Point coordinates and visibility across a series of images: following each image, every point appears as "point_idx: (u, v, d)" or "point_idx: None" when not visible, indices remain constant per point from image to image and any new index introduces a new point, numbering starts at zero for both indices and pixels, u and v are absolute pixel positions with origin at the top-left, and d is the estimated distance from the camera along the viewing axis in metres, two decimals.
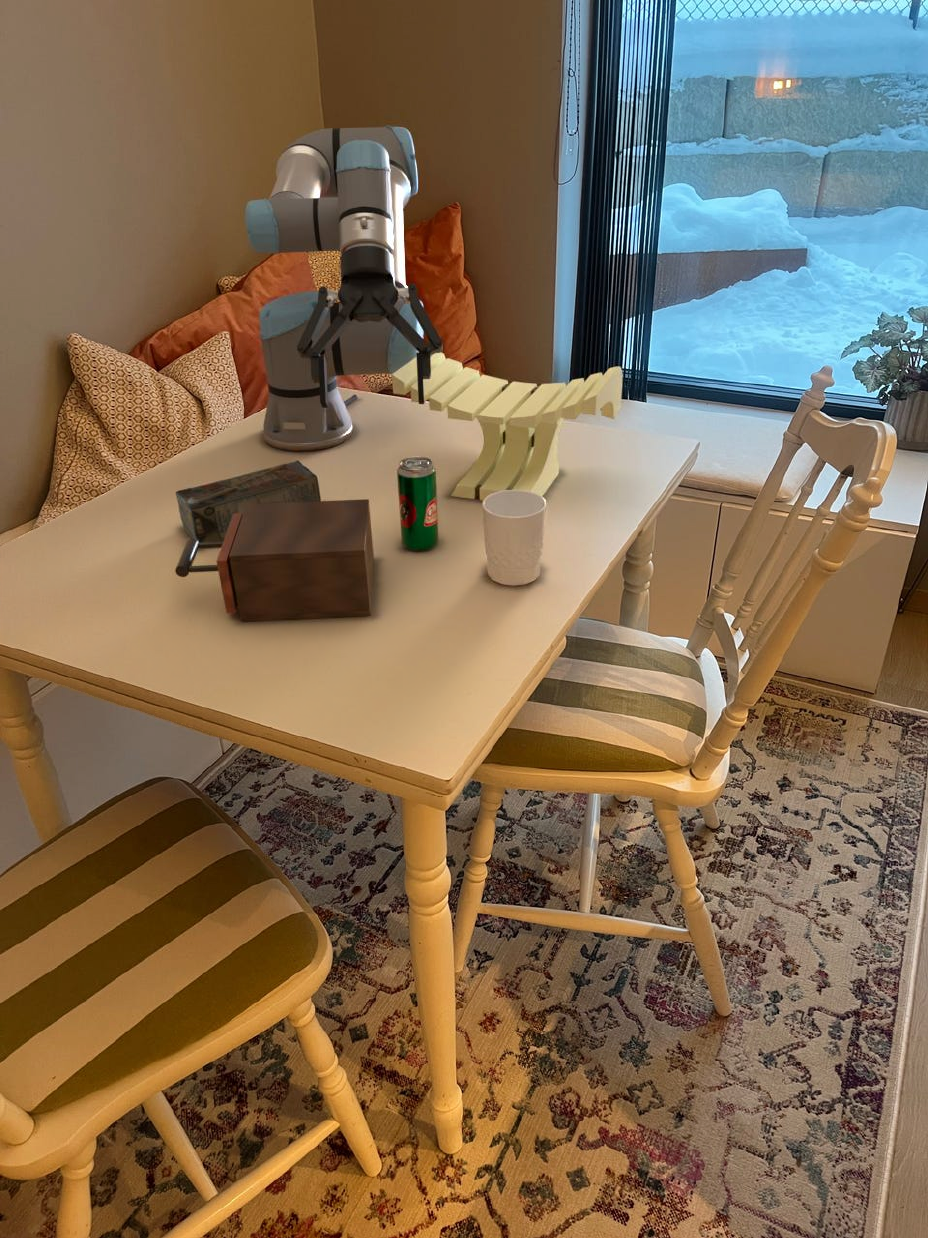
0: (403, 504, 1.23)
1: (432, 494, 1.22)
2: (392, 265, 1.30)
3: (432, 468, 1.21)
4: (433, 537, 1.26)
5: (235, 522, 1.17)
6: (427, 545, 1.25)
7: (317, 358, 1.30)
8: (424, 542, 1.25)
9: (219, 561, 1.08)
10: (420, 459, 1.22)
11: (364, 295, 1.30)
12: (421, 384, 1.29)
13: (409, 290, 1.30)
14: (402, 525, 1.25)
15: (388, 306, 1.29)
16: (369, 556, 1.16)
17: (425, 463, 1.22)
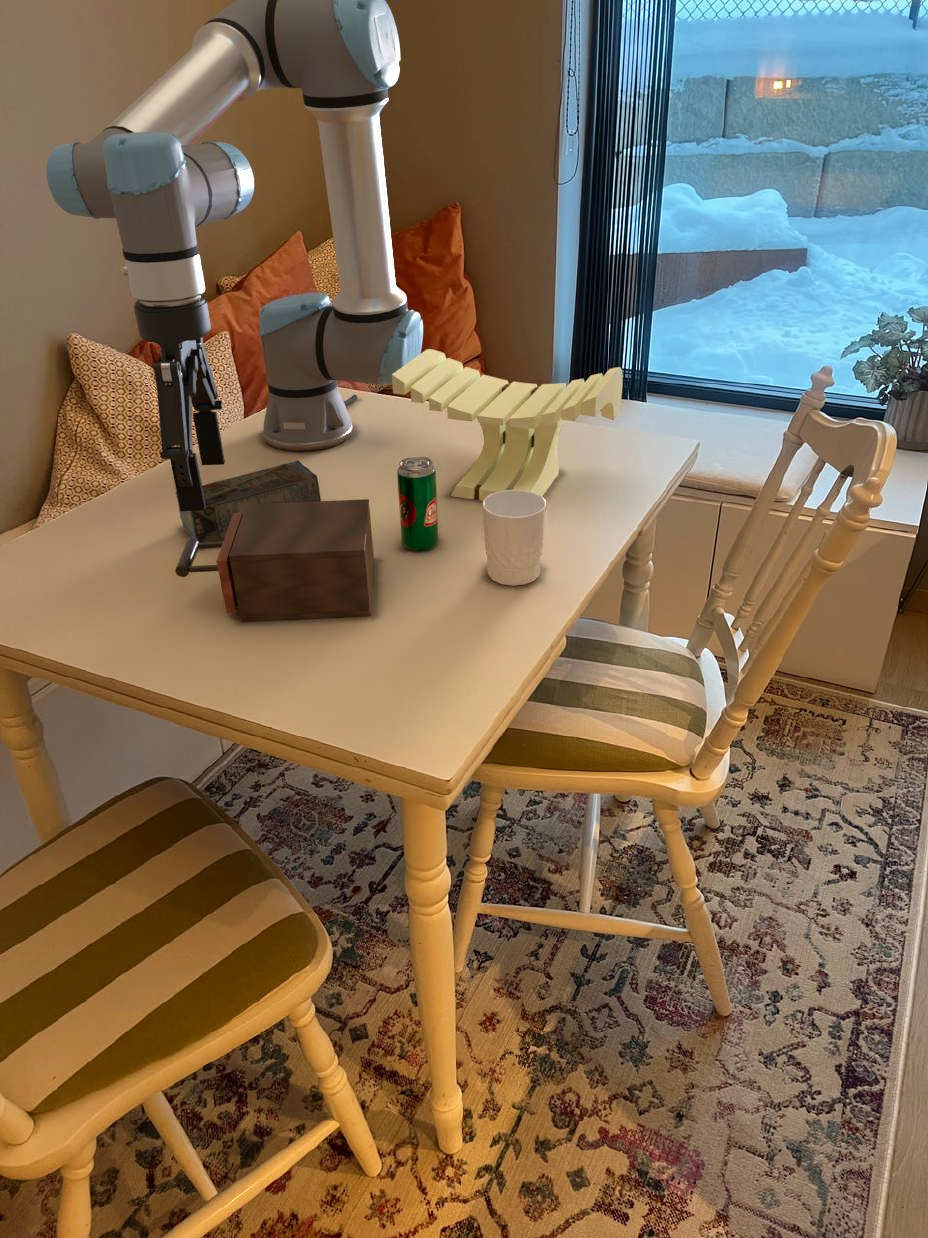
0: (403, 504, 1.23)
1: (432, 494, 1.22)
2: (156, 327, 0.96)
3: (432, 468, 1.21)
4: (433, 537, 1.26)
5: (235, 522, 1.17)
6: (427, 545, 1.25)
7: (199, 412, 1.12)
8: (424, 542, 1.25)
9: (219, 561, 1.08)
10: (420, 459, 1.22)
11: None
12: None
13: None
14: (402, 525, 1.25)
15: None
16: (369, 556, 1.16)
17: (425, 463, 1.22)
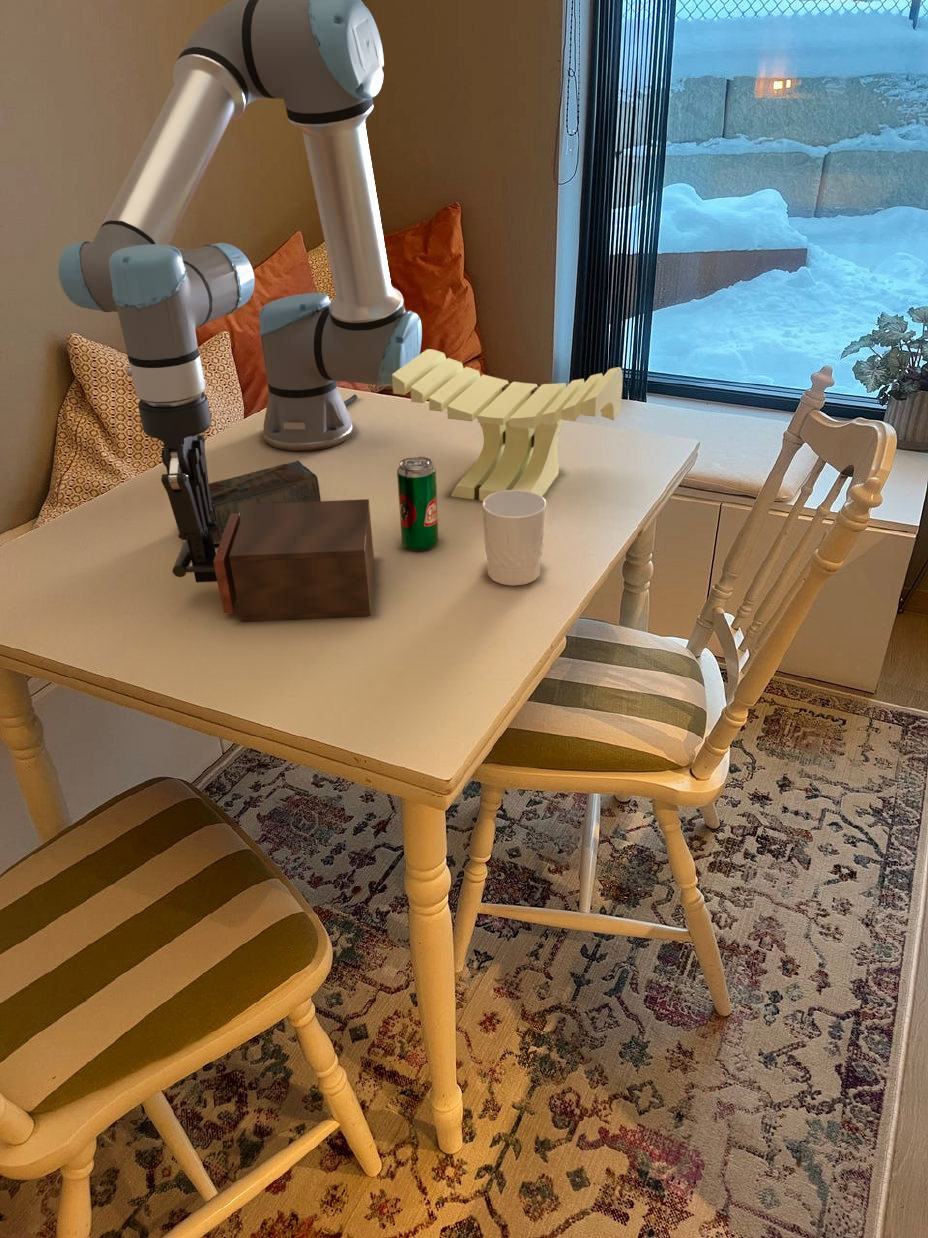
0: (403, 504, 1.23)
1: (432, 494, 1.22)
2: (159, 425, 1.02)
3: (432, 468, 1.21)
4: (433, 537, 1.26)
5: (233, 522, 1.17)
6: (427, 545, 1.25)
7: None
8: (424, 542, 1.25)
9: (216, 561, 1.08)
10: (420, 459, 1.22)
11: None
12: None
13: None
14: (402, 525, 1.25)
15: None
16: (369, 556, 1.16)
17: (425, 463, 1.22)
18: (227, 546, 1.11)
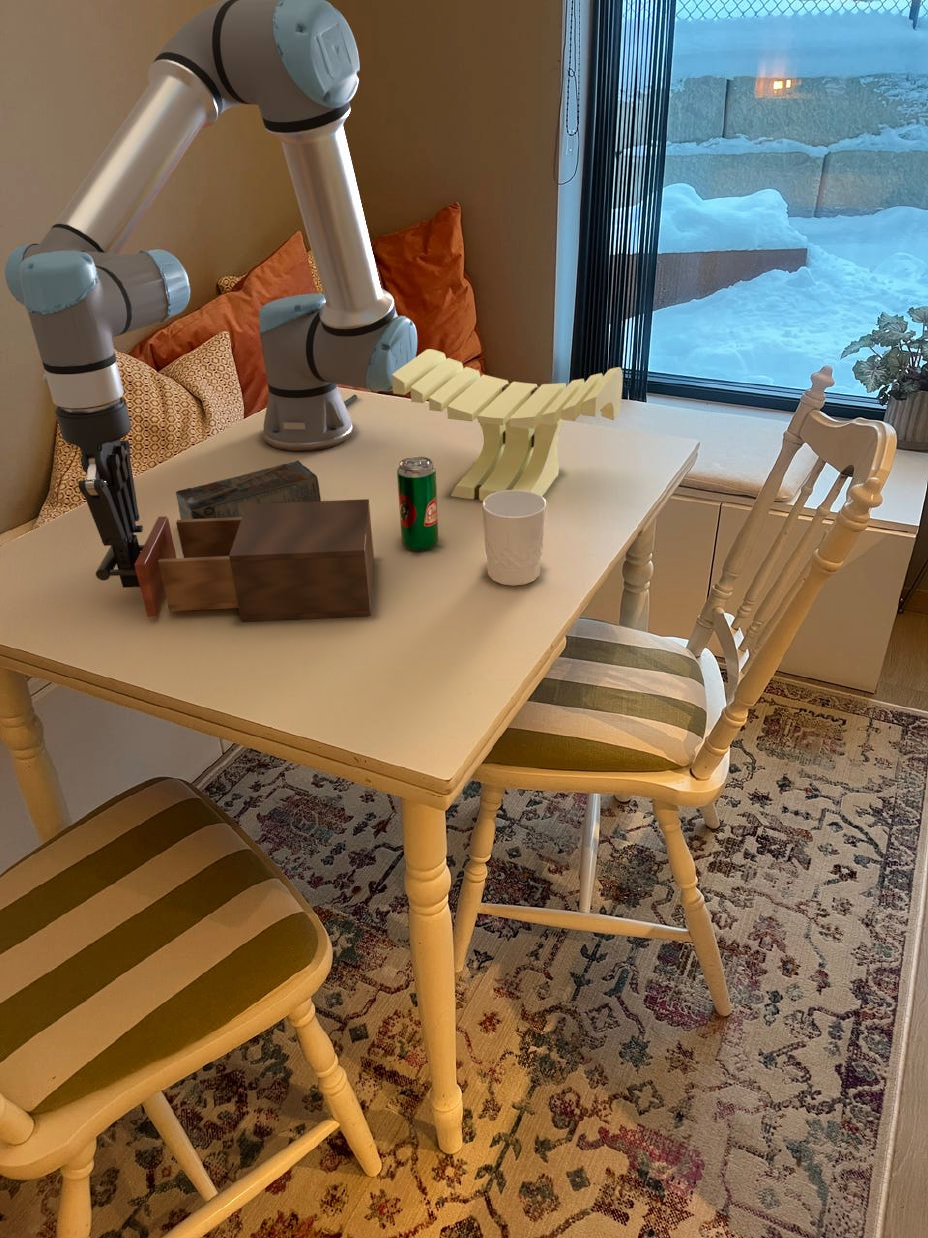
0: (403, 504, 1.23)
1: (432, 494, 1.22)
2: (75, 431, 1.02)
3: (432, 468, 1.21)
4: (433, 537, 1.26)
5: (159, 525, 1.16)
6: (427, 545, 1.25)
7: None
8: (424, 542, 1.25)
9: (137, 565, 1.08)
10: (420, 459, 1.22)
11: None
12: None
13: None
14: (402, 525, 1.25)
15: None
16: (369, 556, 1.16)
17: (425, 463, 1.22)
18: (150, 549, 1.11)
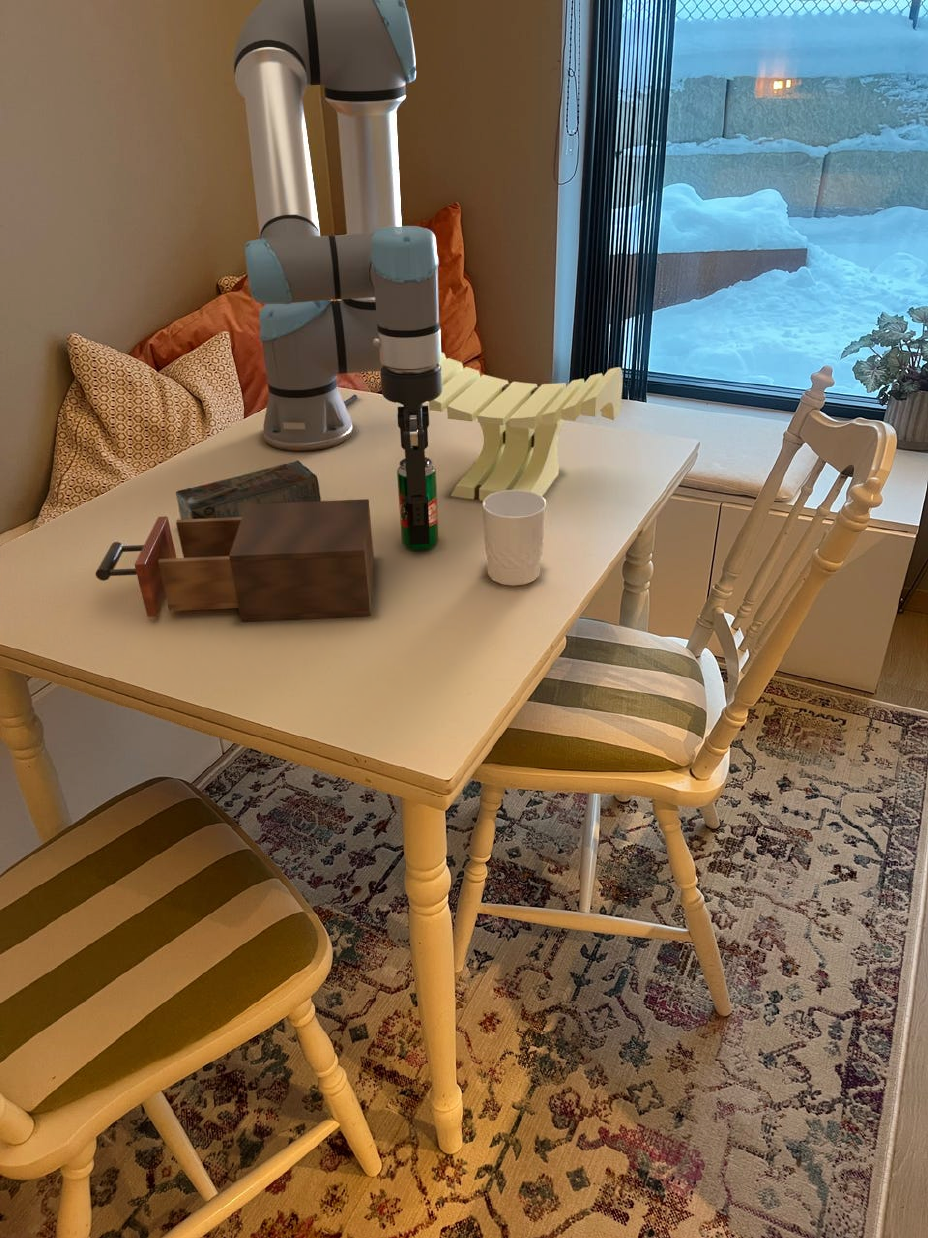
0: (403, 504, 1.23)
1: (432, 494, 1.22)
2: (403, 390, 1.12)
3: (432, 468, 1.21)
4: (433, 537, 1.26)
5: (159, 525, 1.16)
6: (427, 545, 1.25)
7: None
8: None
9: (137, 565, 1.08)
10: None
11: (404, 412, 1.18)
12: (409, 530, 1.23)
13: None
14: (402, 525, 1.25)
15: None
16: (369, 556, 1.16)
17: (425, 463, 1.22)
18: (150, 549, 1.11)
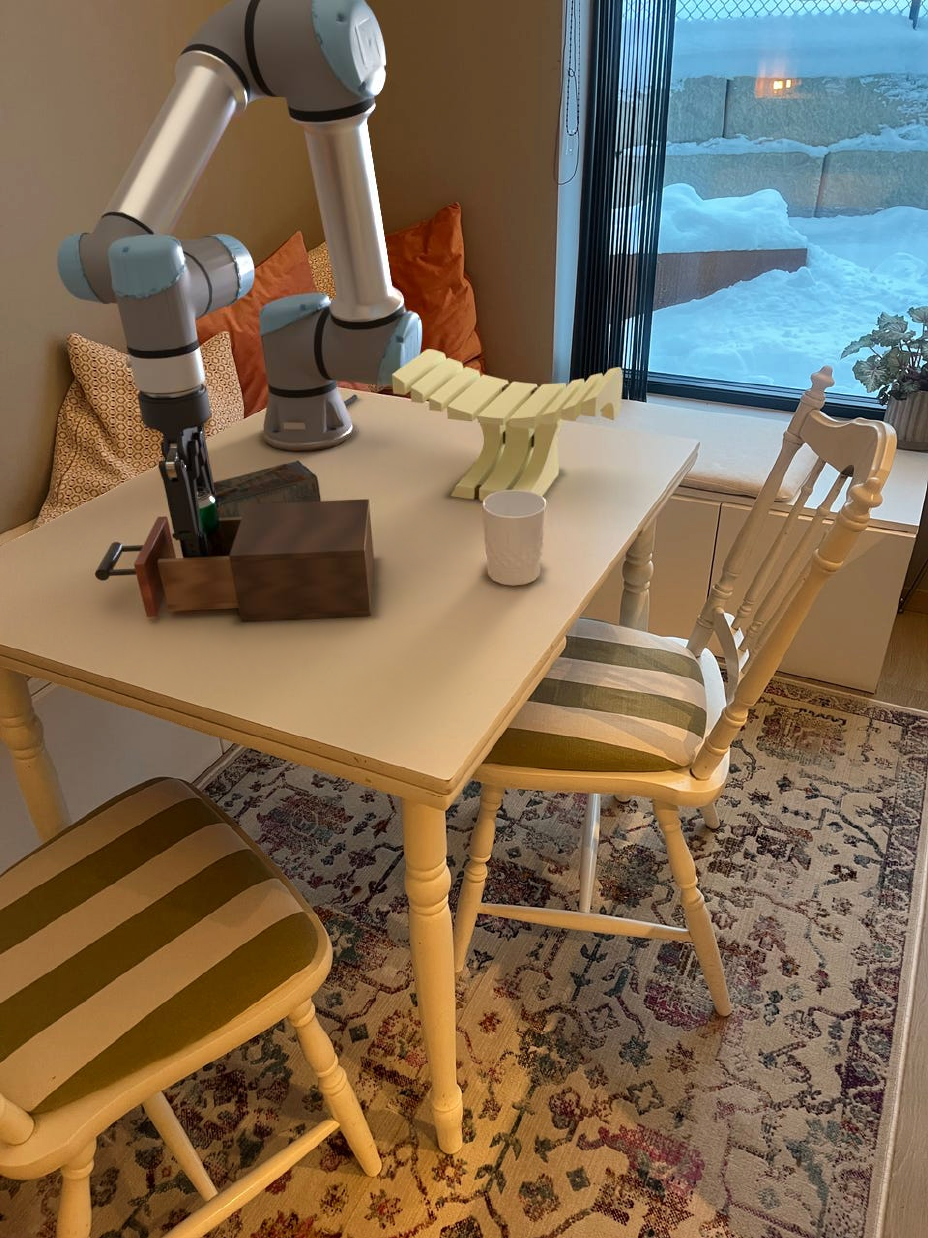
0: None
1: (211, 527, 1.11)
2: (158, 417, 1.01)
3: (210, 499, 1.10)
4: None
5: (159, 525, 1.16)
6: None
7: None
8: None
9: (136, 565, 1.08)
10: (198, 489, 1.11)
11: None
12: None
13: None
14: None
15: None
16: (369, 556, 1.16)
17: (203, 494, 1.11)
18: (150, 549, 1.11)
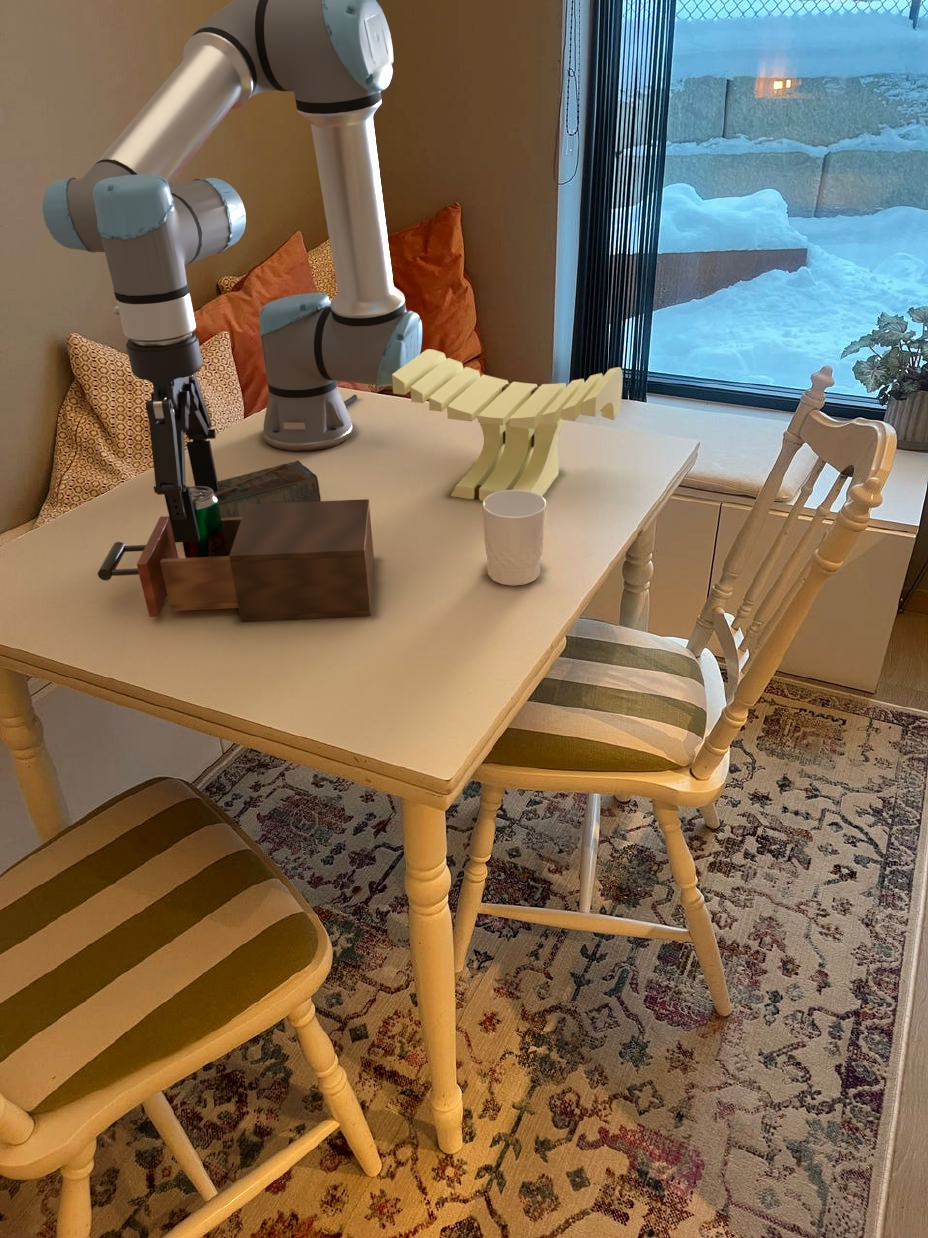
0: None
1: (214, 527, 1.11)
2: (148, 365, 0.98)
3: (212, 499, 1.10)
4: None
5: (161, 525, 1.16)
6: None
7: (193, 441, 1.14)
8: None
9: (139, 565, 1.08)
10: (201, 489, 1.11)
11: None
12: None
13: None
14: None
15: None
16: (369, 556, 1.16)
17: (205, 494, 1.11)
18: (152, 549, 1.11)
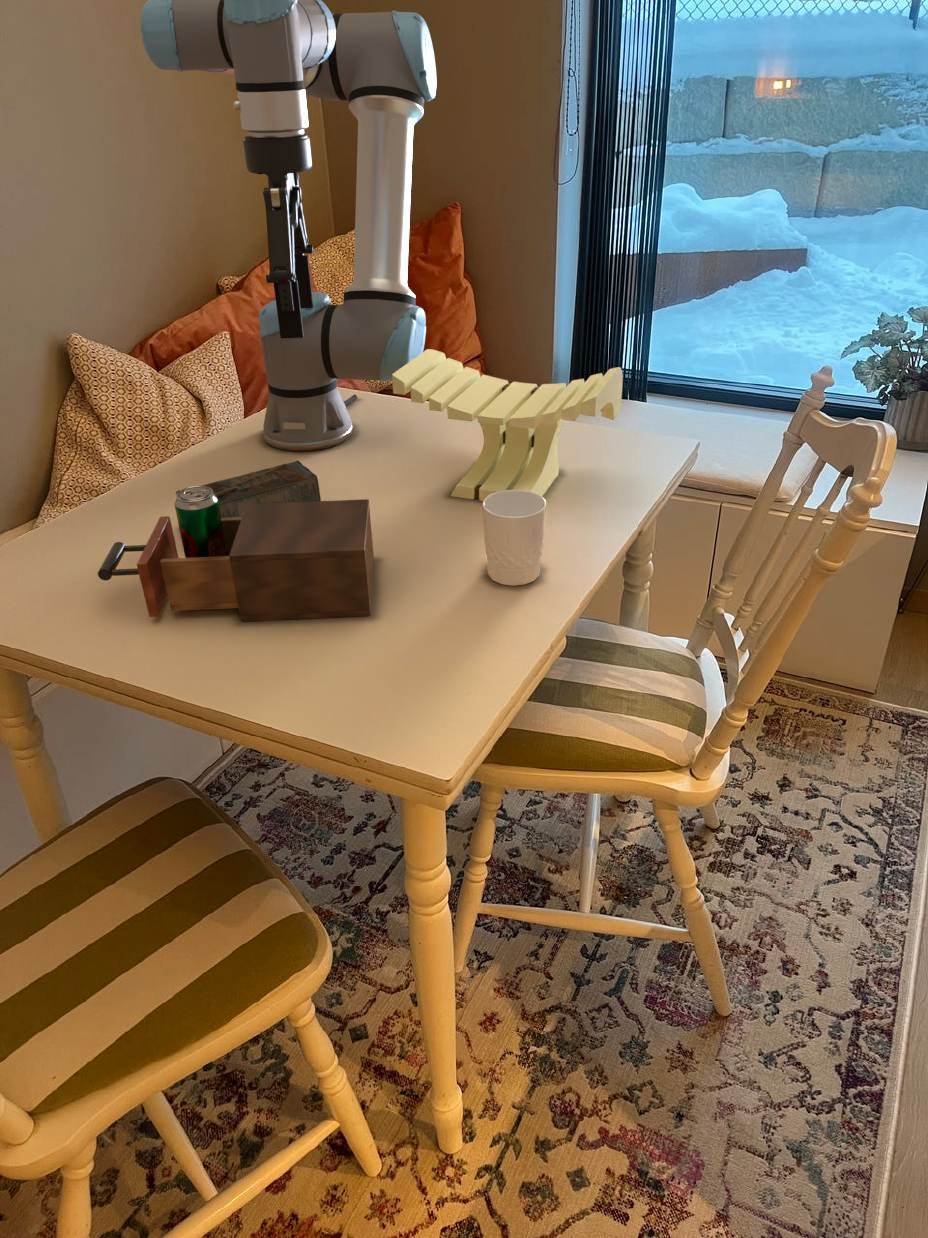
0: (183, 538, 1.12)
1: (214, 527, 1.11)
2: (265, 157, 1.04)
3: (212, 499, 1.10)
4: None
5: (161, 525, 1.16)
6: None
7: None
8: None
9: (139, 565, 1.08)
10: (201, 489, 1.11)
11: None
12: None
13: None
14: None
15: None
16: (369, 556, 1.16)
17: (205, 494, 1.11)
18: (152, 549, 1.11)
